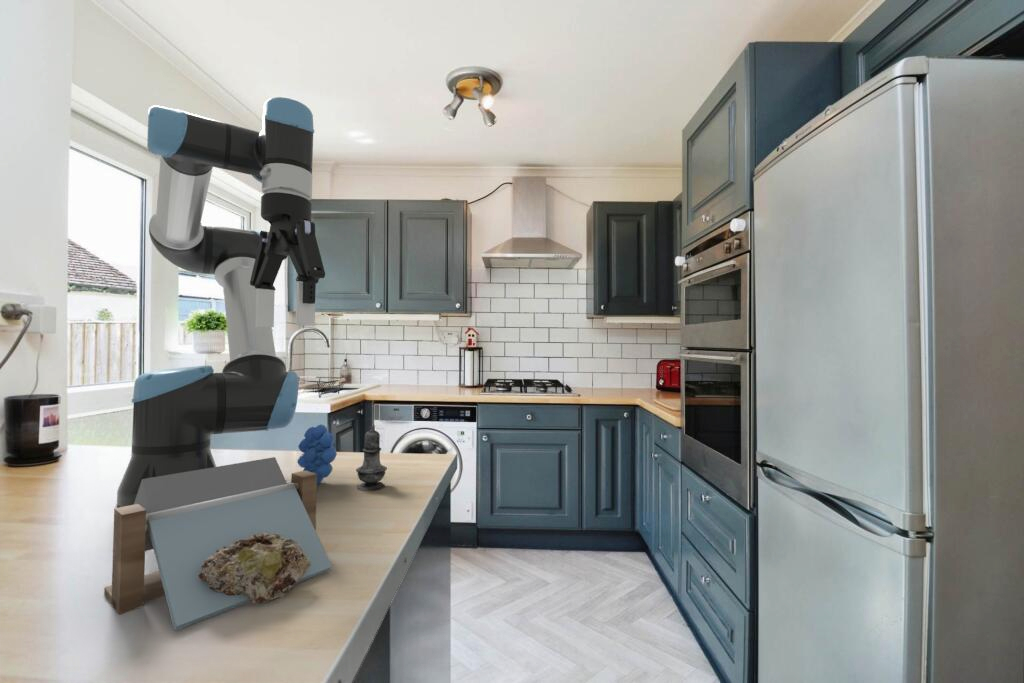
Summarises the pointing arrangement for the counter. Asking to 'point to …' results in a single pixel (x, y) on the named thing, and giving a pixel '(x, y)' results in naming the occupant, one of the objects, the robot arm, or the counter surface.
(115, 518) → the frame
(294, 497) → the trapdoor
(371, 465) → the salt shaker
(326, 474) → the grapes
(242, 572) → the mineral rock
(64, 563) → the counter surface
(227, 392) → the robot arm
